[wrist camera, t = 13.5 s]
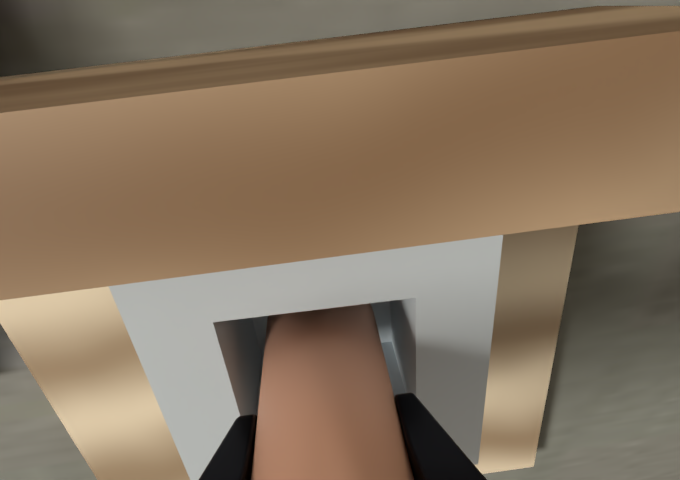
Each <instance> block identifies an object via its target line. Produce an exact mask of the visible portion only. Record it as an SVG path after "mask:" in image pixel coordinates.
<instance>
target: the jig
mask: <svg viewBox="0 0 680 480" xmlns="http://www.w3.org/2000/svg"><path fill="white" fill-rule="evenodd" d="M674 212H680V6H594V7H586V8H577V9H569V10H560V11H552V12H544V13H535V14H527V15H518V16H510V17H502V18H493V19H485V20H476V21H468V22H460V23H451V24H443V25H434V26H426V27H417V28H409V29H401V30H392V31H384V32H375V33H367V34H359V35H350V36H342V37H333V38H325V39H317V40H308V41H300V42H291V43H283V44H275V45H266V46H258V47H249V48H241V49H232V50H224V51H216V52H207V53H199V54H190V55H182V56H174V57H165V58H157V59H148V60H140V61H132V62H123V63H115V64H106V65H98V66H90V67H81V68H73V69H64V70H56V71H48V72H39V73H31V74H22V75H14V76H5V77H0V323H1V325H2V327H3V328H4V330H5V331H6V333H7V335H8V336H9V338H10V340H11V341H12V343H13V344H14V346H15V348H16V349H17V351H18V352H19V354H20V356H21V357H22V359H23V360H24V362H25V364H26V365H27V367H28V368H29V370H30V372H31V373H32V375H33V377H34V378H35V380H36V381H37V383H38V385H39V386H40V388H41V389H42V391H43V393H44V394H45V396H46V397H47V399H48V401H49V402H50V404H51V406H52V407H53V409H54V410H55V412H56V414H57V415H58V417H59V418H60V420H61V422H62V423H63V425H64V426H65V428H66V430H67V431H68V433H69V434H70V436H71V438H72V439H73V441H74V443H75V444H76V446H77V447H78V449H79V451H80V452H81V454H82V455H83V457H84V459H85V460H86V462H87V463H88V465H89V467H90V468H91V470H92V471H93V473H94V475H95V476H96V478H97V480H190V478H189V476H188V473H187V471H186V469H185V466H184V464H183V462H182V459H181V457H180V454H179V452H178V450H177V447H176V445H175V443H174V440H173V438H172V436H171V433H170V431H169V428H168V426H167V424H166V421H165V419H164V417H163V414H162V412H161V409H160V407H159V405H158V402H157V400H156V398H155V395H154V393H153V391H152V388H151V386H150V383H149V381H148V379H147V376H146V374H145V372H144V369H143V367H142V365H141V362H140V360H139V357H138V355H137V353H136V350H135V348H134V346H133V343H132V341H131V338H130V336H129V334H128V331H127V329H126V327H125V324H124V322H123V320H122V317H121V315H120V312H119V310H118V308H117V305H116V303H115V301H114V298H113V296H112V293H111V291H110V289H109V286H115V285H122V284H130V283H138V282H145V281H153V280H161V279H168V278H176V277H184V276H191V275H199V274H206V273H214V272H222V271H229V270H237V269H245V268H252V267H260V266H268V265H275V264H283V263H291V262H298V261H306V260H314V259H321V258H329V257H337V256H344V255H352V254H360V253H367V252H375V251H383V250H390V249H398V248H406V247H413V246H421V245H429V244H436V243H444V242H451V241H459V240H467V239H474V238H482V237H490V236H497V235H503V241H502V250H501V260H500V269H499V278H498V287H497V296H496V305H495V314H494V324H493V333H492V342H491V351H490V360H489V369H488V378H487V388H486V397H485V406H484V415H483V424H482V433H481V443H480V452H479V461H478V464H476V465H475V466H476V468H477V469H478V470H479V471H480V472H481V473H482V474H485V473H492V472H499V471H506V470H513V469H520V468H527V467H534V461H535V456H536V451H537V445H538V440H539V435H540V429H541V424H542V418H543V413H544V408H545V402H546V397H547V392H548V386H549V381H550V376H551V370H552V365H553V360H554V354H555V349H556V344H557V338H558V333H559V327H560V322H561V317H562V311H563V306H564V301H565V295H566V290H567V285H568V279H569V274H570V269H571V263H572V258H573V253H574V247H575V242H576V237H577V231H578V226H579V225H582V224H589V223H597V222H605V221H612V220H620V219H628V218H635V217H643V216H651V215H658V214H666V213H674Z"/></svg>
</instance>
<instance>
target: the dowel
mask: <svg viewBox="0 0 680 480" xmlns="http://www.w3.org/2000/svg"><path fill="white" fill-rule="evenodd" d="M251 480H414V476H413V472H412V468H411V464H410V460H409V457H408V453H407V449H406V445H405V440H404V436H403V432H402V428H401V424H400V420H399V416H398V412H397V407H396V403H395V399H394V394H393V390H392V386H391V382H390V377H389V373H388V369H387V365H386V361H385V357H384V353H383V349H382V345H381V340H380V336H379V332H378V328H377V324H376V320H375V316H374V312H373V309H372V306H371V304H370V303H369V304H360V305H352V306H344V307H336V308H327V309H319V310H311V311H303V312H294V313H286V314H278V315H270V316H268V319H267V328H266V338H265V347H264V357H263V367H262V376H261V386H260V396H259V405H258V415H257V425H256V434H255V444H254V454H253V463H252V473H251Z"/></svg>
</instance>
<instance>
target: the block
mask: <svg viewBox="0 0 680 480" xmlns="http://www.w3.org/2000/svg"><path fill="white" fill-rule="evenodd" d="M502 241H503V235H497V236H490V237H482V238H474V239H467V240H459V241H451V242H444V243H436V244H429V245H421V246H413V247H406V248H398V249H390V250H383V251H375V252H367V253H360V254H352V255H344V256H337V257H329V258H321V259H314V260H306V261H298V262H291V263H283V264H275V265H268V266H260V267H252V268H245V269H237V270H229V271H222V272H214V273H206V274H199V275H191V276H184V277H176V278H168V279H161V280H153V281H145V282H138V283H130V284H122V285H115V286H109V289H110V291H111V293H112V296H113V298H114V301H115V303H116V305H117V308H118V310H119V312H120V315H121V317H122V320H123V322H124V324H125V327H126V329H127V331H128V334H129V336H130V338H131V341H132V343H133V346H134V348H135V350H136V353H137V355H138V357H139V360H140V362H141V365H142V367H143V369H144V372H145V374H146V376H147V379H148V381H149V383H150V386H151V388H152V391H153V393H154V395H155V398H156V400H157V402H158V405H159V407H160V409H161V412H162V414H163V417H164V419H165V421H166V424H167V426H168V428H169V431H170V433H171V436H172V438H173V440H174V443H175V445H176V447H177V450H178V452H179V454H180V457H181V459H182V462H183V464H184V466H185V469H186V471H187V473H188V476H189V478H190V480H199V478H200V477H201V475H202V473H203V472H204V470H205V468H206V467H207V465H208V464H209V462H210V460H211V459H212V457H213V455H214V454H215V452H216V451H217V449H218V447H219V446H220V444H221V442H222V441H223V439H224V438H225V436H226V434H227V433H228V431H229V429H230V428H231V426H232V425H233V423H234V421H235V420H236V418H238V417H239V416H243V415H250V414H255V415H258V405H259V396H260V386H261V376H262V367H263V357H264V347H265V338H266V328H267V319H268V316H270V315H278V314H286V313H294V312H303V311H311V310H319V309H327V308H336V307H344V306H352V305H360V304H369V303H370V304H371V306H372V309H373V312H374V316H375V320H376V324H377V328H378V332H379V336H380V340H381V345H382V349H383V353H384V357H385V361H386V365H387V369H388V373H389V377H390V382H391V386H392V390H393V394H394V397H395V395H397V394H402V393H409V392H411V393H413V394H414V395H415V396H416V397H417V398H418V399H419V400H420V401H421V403H422V404H423V405H424V406H425V407H426V408H427V410H428V411H429V412H430V413H431V414H432V416H433V417H434V418H435V419H436V420H437V421H438V423H439V424H440V425H441V426H442V427H443V429H444V430H445V431H446V432H447V433H448V434H449V436H450V437H451V438H452V439H453V440H454V442H455V443H456V444H457V445H458V446H459V447H460V449H461V450H462V451H463V452H464V453H465V455H466V456H467V457H468V458H469V459H470V460H471V462H472V463H473V464H474V465H476V464H478V461H479V452H480V443H481V433H482V424H483V415H484V406H485V397H486V388H487V378H488V369H489V360H490V351H491V342H492V333H493V324H494V314H495V305H496V296H497V287H498V278H499V269H500V260H501V250H502Z"/></svg>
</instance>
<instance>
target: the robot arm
mask: <svg viewBox="0 0 680 480" xmlns="http://www.w3.org/2000/svg"><path fill="white" fill-rule="evenodd" d="M394 399H395V403H396V407H397V412H398V416H399V420H400V424H401V428H402V432H403V436H404V440H405V445H406V449H407V453H408V457H409V460H410V464H411V468H412V472H413V476H414V480H487V479H486V478H485V477H484V476H483V475H482V473H481V472H480V471H479V470H478V469H477V468H476V466H475V465H474V464H473V463H472V462H471V460H470V459H469V458H468V457H467V456H466V455H465V453H464V452H463V451H462V450H461V449H460V447H459V446H458V445H457V444H456V443H455V442H454V440H453V439H452V438H451V437H450V436H449V434H448V433H447V432H446V431H445V430H444V429H443V427H442V426H441V425H440V424H439V423H438V421H437V420H436V419H435V418H434V417H433V416H432V414H431V413H430V412H429V411H428V410H427V408H426V407H425V406H424V405H423V404H422V403H421V401H420V400H419V399H418V398H417V397H416V396H415V395H414V394H413V393H411V392H409V393H402V394H397V395H395V397H394ZM256 425H257V415H255V414H250V415H243V416H239V417H238V418H236V420H235V421H234V423H233V425H232V426H231V428H230V429H229V431H228V433H227V434H226V436H225V438H224V439H223V441H222V442H221V444H220V446H219V447H218V449H217V451H216V452H215V454H214V455H213V457H212V459H211V460H210V462H209V464H208V465H207V467H206V468H205V470H204V472H203V473H202V475H201V477H200V478H199V480H251V473H252V463H253V454H254V444H255V434H256Z"/></svg>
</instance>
